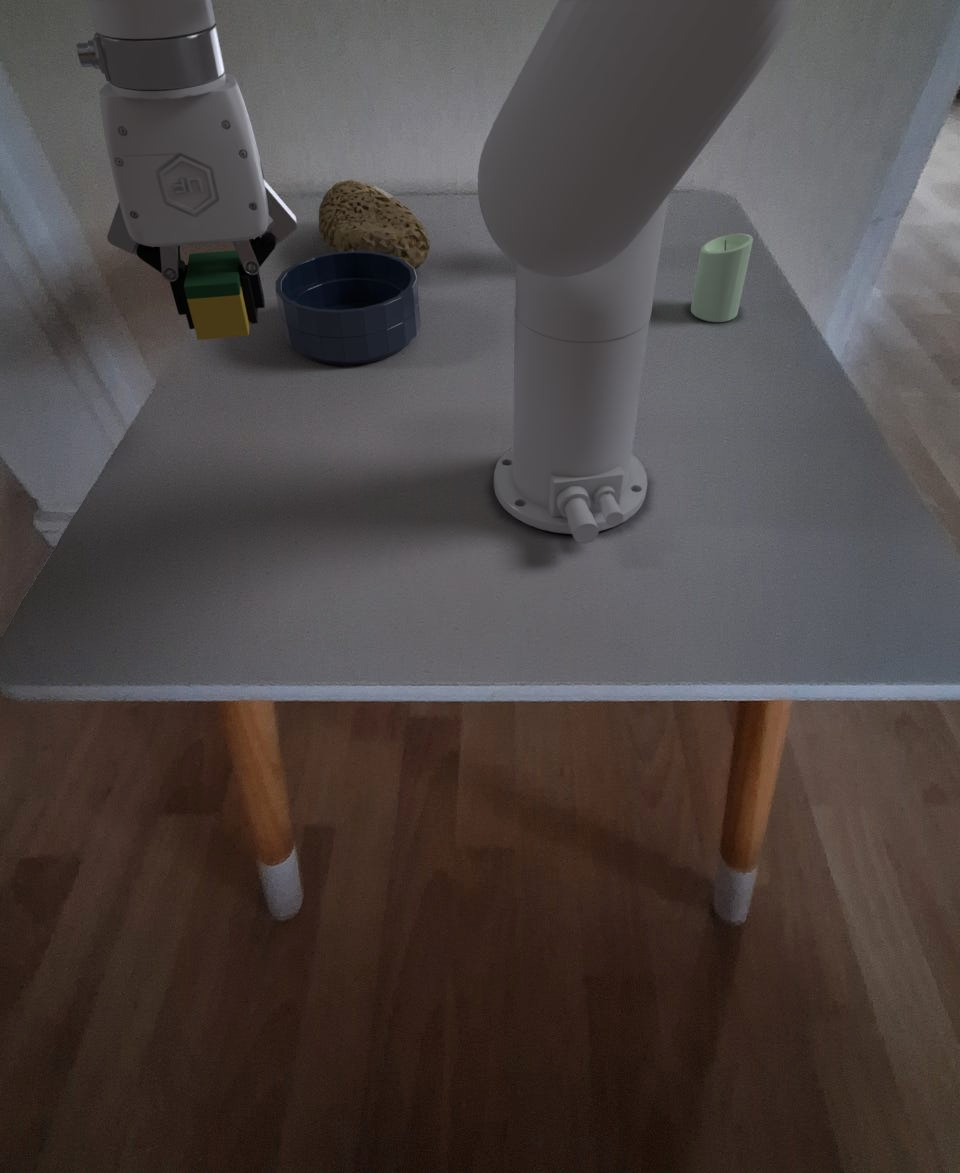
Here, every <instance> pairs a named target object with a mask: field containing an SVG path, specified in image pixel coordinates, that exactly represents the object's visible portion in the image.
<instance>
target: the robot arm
mask: <svg viewBox="0 0 960 1173" xmlns="http://www.w3.org/2000/svg"><path fill="white" fill-rule="evenodd" d="M800 2H801V0H557V1H556V4H555V5H554V7H553V9H552V11H551V13H550V15H549V17H548V19H547V20H546V23H545V25H544V26H543V28H542V30H541V32H540V34H539V36H538V38H537V39H536V41H535V43H534V45H533V47H532V49H531V51H530V53H529V54H528V57H527V58H526V60H525V62H524V64H523V66H522V68H521V70H520V71H519V74H518V75H517V77H516V79H515V81H514V83H513V85H512V87H511V89H510V91H509V92H508V94H507V96H506V98H505V99H504V102H503V103H502V106H500V107H501V108H500V109H499V111H498V113H497V115H496V117H495V119H494V121H493V122H492V125H491V127H490V129H489V131H488V132H487V134H486V138H485V141H484V143H483V147H482V150H481V153H480V158H479V163H478V168H477V169H478V171H477V196H478V202H479V207H480V212H481V215H482V218H483V222H484V225H485V226H486V229H487V232H488V233H489V235H490V237H491V238H492V240H493V242H494V243H495V244H496V246H497V247H498V249H499V250H500V251H501V252H502V253H503V254H504V255H505V256H506V257H507V258H508V260H511V261H512V262H513V263H514V264H515V267H516V268H515V294H514V299H515V300H514V325H513V326H514V331H513V333H514V334H513V335H514V336H513V340H514V341H513V404H512V406H513V407H512V408H513V409H512V413H513V414H512V447H511V448H509V449H508V450H507V451H505V453H504V454H502V455H501V457H500V458H499V460H497V462H496V465H495V468H494V471H493V488H494V494H495V496H496V499H497V500H498V503H499V504H500V505H501V506H502V507H503V509H504V510H505V511H506V512H507V513H509V514H510V515H511V516H512V517H513V518H514V519H517V520H519V521H521V522H522V523H524V524H526V525H528V526H530V527H533V528H536V529H538V530H543V531H547V532H551V533H555V534H556V533H557V534H566V535H567V534H568V535H572V538H573V539H574V541H575V542H577V543H579V544H589V543H592V542H593V541H595V539H597V538H598V535H599V533H600V532H602V531H606V530H608V529H612V528H615V527H617V526H620V525H621V524H622V523H625V522H626V521H628V520H629V519H630V518H631V517H633V516H634V515H636V514H637V512H639V509H640V508H641V507H642V506H643V504H644V501H645V499H646V496H647V489H648V475H647V472H646V469H645V467H644V465H643V464H642V462H641V461H640V460H639V458H637V457H636V456H635V455H634V454H633V449H634V441H635V436H636V435H635V433H636V426H637V420H638V419H637V418H638V411H639V405H640V404H639V403H640V396H641V390H642V383H643V382H642V380H643V374H644V367H645V360H646V351H647V345H648V338H649V336H648V335H649V329H650V323H651V318H652V311H653V304H654V298H655V289H656V283H657V276H658V269H659V268H658V267H659V261H660V255H661V250H662V241H663V237H664V236H663V235H664V230H665V224H666V218H667V214H668V207H669V201H670V195H671V193H672V192H673V191H674V189H675V187H676V186H677V185H678V183H680V181H681V180H682V178H683V177H684V176H685V174H686V173H687V172H688V171H689V169H690V168H691V166H692V165H693V163H694V162H695V161H696V159H697V158H698V157H699V155H700V154H701V153H702V151H703V150H704V149H705V147H706V146H707V145H708V143H709V142H710V141H711V139H713V137H714V135H715V134H716V133H717V131H718V130H719V129H720V127H721V126H722V125H723V123H724V122H725V121H726V119H727V118H728V117H729V115H730V114H731V112H732V111H733V110H734V109H735V107H736V106H737V105H738V104H739V102H740V100H741V99H742V97H743V96H744V95H745V93H746V92H747V91H748V89H749V88H750V87H751V85H752V84H753V83H754V82H755V80H756V79H757V77H758V76H759V74H760V73H761V71H762V70H763V68H764V67H765V65H766V64H767V62H768V61H769V59H770V58H771V56H772V55H773V53H774V52H775V50H776V48H777V46H778V45H779V43H780V42H781V40H782V38H783V37H784V35H785V33H786V31H787V30H788V28H789V26H790V24H791V22H792V20H793V18H794V16H795V15H796V11H797V9H798V7H799V5H800ZM86 3H87V6H88V9H89V14H90V18H91V20H92V24H93V28H94V31H95V34H93V37H92V40H91V39H90V40H87V42H78V43H76V52H77V57H78V60H79V62H80V65H81V67H82V68H94V69H95V70H100V72H101V74H104V77H105V80H106V82H107V83H105V84H104V85H103V86H102V88H100V89H99V94H98V95H99V105H100V114H101V121H102V127H103V133H104V139H105V144H106V150H107V154H108V158H109V164H110V169H111V172H112V177H113V181H114V185H115V190H116V194H117V198H118V204H117V206H116V210H115V212H114V216H113V218H112V221H111V224H110V227H109V230H108V233H107V235H106V238H107V242H108V243H109V244H110V245H113V246H115V247H116V248H119V249H120V250H122V251H124V252H127V253H129V254H132V255H136V256H137V257H138V258H139V259H140V260H141V261H143V262H144V263H146V264H147V265H149V266H150V267H152V268H153V269H154V270H156V271H157V272H159V273H161V275H162V277H163V279H164V280H165V281H167V282H169V285H170V288H171V292H172V296H173V299H174V303H175V307H176V310H177V313H178V315H179V316H184V315H185V317H186V321H187V324H188V328H189V329H190V330H195V328H194V324H193V320H192V316H191V313H190V309H189V305H188V301H187V298H186V294H185V290H184V283H185V277H186V271H187V265H188V263H187V264H186V261H184V260H182V249H181V246H194V245H205V244H207V245H208V244H217V243H218V244H220V243H231V242H232V244H233V247H234V250H236V252H237V254H238V256H239V259H240V283H241V287H242V292H243V297H244V302H245V306H246V311H247V316H248V321H249V322H250V324H252V325H255V324H258V323H259V309H265V308H266V301H265V296H264V295H265V294H264V290H263V284H262V279H261V274H260V268H261V267H262V265H263V264H264V263H265V262H266V260H267V259H268V258H269V256H271V254H272V253H273V252H274V250H275V248H276V247H277V246H278V245H279V244H280V243H282V242H283V241H285V240H286V239H287V238H288V237H289V236H291V235H292V234H293V233H294V232H296V230H297V228H298V219H297V217H296V214H294V212H293V211H292V210H291V209H290V208H289V206H287V205H286V203H285V202H284V201H283V200H282V199H281V197H280V196H279V195H278V194H277V192H276V191H275V190H274V189H273V188H272V186H270V184H269V183H268V182H267V181H266V179H265V174H264V170H263V169H264V168H263V166H262V160H261V157H260V152H259V149H258V146H257V141H256V137H255V133H254V129H253V124H252V122H251V119H250V115H249V112H248V109H247V106H246V103H245V100H244V97H243V93H242V92H241V89H240V86H239V84H238V80H237V79H236V77H235V76H234V75H233V74H231V73H226V71H225V64H224V59H223V55H222V54H223V53H222V49H221V44H220V39H219V33H218V28H217V24H216V19H215V18H216V17H215V12H214V8H213V1H212V0H86ZM270 218H271V219H272V221H271V222H270ZM269 222H270V223H269Z"/></svg>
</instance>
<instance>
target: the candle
mask: <svg viewBox="0 0 960 1173" xmlns="http://www.w3.org/2000/svg"><path fill="white" fill-rule="evenodd" d="M753 241H754V237H753V236H752V235H751V234H748V233H731V234H727V235H726V234H725V235H722V236H718V237H716V238H713V239H711V240H709V241H707V242H706V243H704V244H703V245H702V247H701V248H700V251H699V257H698V263H697V270H696V275H695V282H694V287H693V294H692V300H691V306H690V312H691V314H692V315H693V316H694V317H696V318H698V319H699V320H702V321H704V322H708V323H709V322H710V323H724V322H725V323H727V322H729V321H731V320H734V319H735V318H736V317H738V314H739V309H740V304H741V299H742V295H743V289H744V285H745V281H746V276H747V270H748V266H749V261H750V257H751V252H752V247H753Z"/></svg>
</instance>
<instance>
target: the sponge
mask: <svg viewBox="0 0 960 1173" xmlns="http://www.w3.org/2000/svg"><path fill="white" fill-rule="evenodd" d="M394 198H395V197H394V195H393V194H391V193H389V192H388V191H385V190H384V189H382V188H381V187H378V186H377V185H372V184H369V183H362V182H360V181H356V180H353V179H349V180H345V181H343V180H341V181H338V182H336V183H335V184H334V185H333V186H332V187H331V188H330V189H329V190H327V192H326V193H325V194H324V196H323V197H322V201H321V203H320V205H319V208H318V231H319V234H320V237H321V239H322V241H323V242H325V244H326V246H327V247H328V248H329V249H330V250H331V252H341V251H353V250H354V251H375V252H380V253H385V254H390V255H393V256H395V257H398V258H400V259H402V260H405V261H406V262H407V263H408V264H410V265H411V266H412V267H413V268H414V269H415V270H416V269H417V268H419V267H420V266H421V265H422V264H424V262H425V261H426V258H427V257H428V255H429V251H430V248H431V241H430V238H429V236H428V233H427V230H426V227H425V226H424V225H423V223H422V222H421V221H420V220H419V219H418V218H417V217H416V215H414V213H413V211H412V210H411V209H409V207H407V206H405V205H403V204H402V202H401V201H399V200H396V199H394Z"/></svg>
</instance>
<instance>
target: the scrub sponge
mask: <svg viewBox="0 0 960 1173" xmlns="http://www.w3.org/2000/svg"><path fill="white" fill-rule="evenodd" d="M184 290H185V294H186V298H187V301H188V305H189V309H190V313H191V316H192V320H193V324H194V328H195V329H194V331H195V335H196V339H197V340H198V341H201V340H210V339H211V340H213V339H224V338H236V337H246V336H247V337H248V336H249V335H250V324H251V322H249V321H248V316H247V311H246V306H245V302H244V297H243V292H242V287H241V283H240V259H239V256H238V254H237V252H236V249H234V250H222V251H210V252H209V251H208V252H196V253H195V252H194V253H189V254H188V260H187V271H186V277H185V283H184Z"/></svg>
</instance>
